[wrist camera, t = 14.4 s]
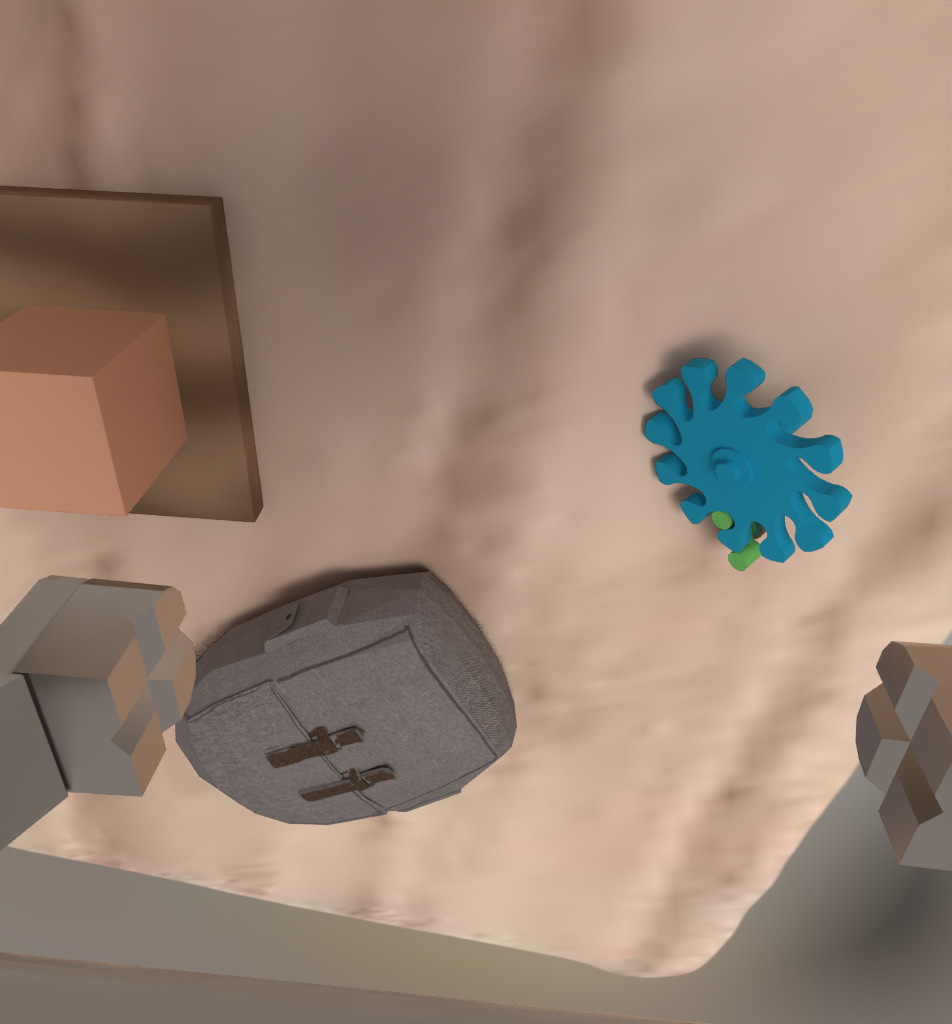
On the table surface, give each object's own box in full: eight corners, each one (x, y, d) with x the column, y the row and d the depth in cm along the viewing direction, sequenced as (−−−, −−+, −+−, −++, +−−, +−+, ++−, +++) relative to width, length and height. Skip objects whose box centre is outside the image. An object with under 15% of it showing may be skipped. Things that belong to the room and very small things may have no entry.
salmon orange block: (27, 304, 38) (-69, 366, 32) (164, 313, 37) (92, 377, 32) (62, 429, 41) (-20, 505, 35) (187, 438, 41) (126, 516, 35)
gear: (633, 340, 36) (848, 419, 30) (717, 286, 39) (931, 348, 32) (639, 527, 43) (813, 623, 37) (709, 471, 46) (884, 551, 39)
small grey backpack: (422, 520, 45) (145, 635, 51) (397, 622, 38) (79, 740, 44) (545, 703, 51) (286, 784, 58) (543, 818, 44) (249, 896, 51)
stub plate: (-45, 183, 36) (-150, 221, 31) (221, 197, 36) (162, 238, 30) (48, 491, 45) (-22, 562, 40) (263, 506, 45) (222, 581, 39)
